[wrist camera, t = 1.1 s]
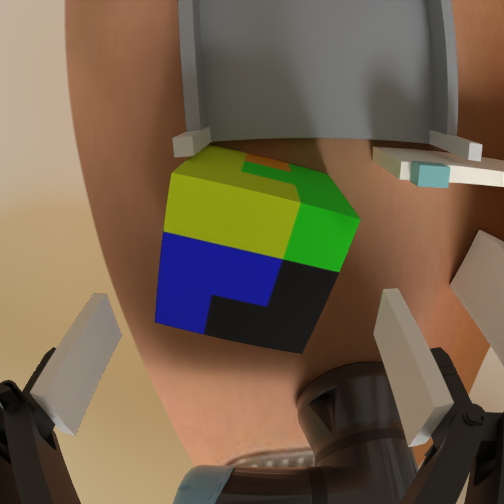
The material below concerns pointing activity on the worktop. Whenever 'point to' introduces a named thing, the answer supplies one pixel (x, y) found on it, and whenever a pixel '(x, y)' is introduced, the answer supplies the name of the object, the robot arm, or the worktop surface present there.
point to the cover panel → (438, 167)
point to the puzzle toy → (250, 248)
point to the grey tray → (320, 72)
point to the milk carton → (484, 288)
